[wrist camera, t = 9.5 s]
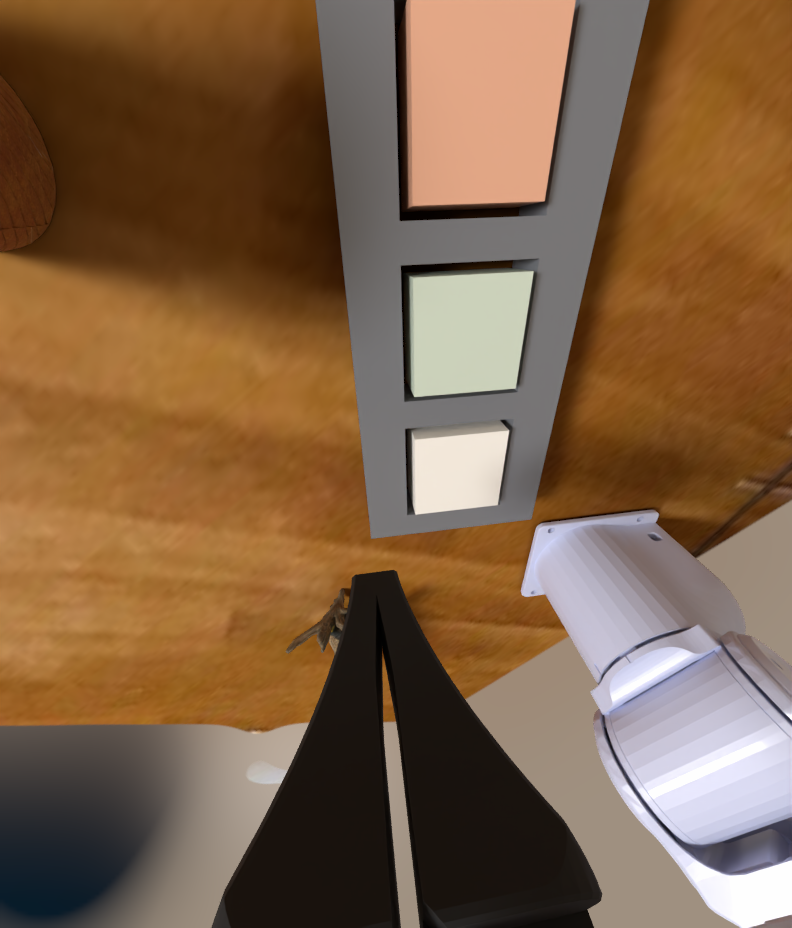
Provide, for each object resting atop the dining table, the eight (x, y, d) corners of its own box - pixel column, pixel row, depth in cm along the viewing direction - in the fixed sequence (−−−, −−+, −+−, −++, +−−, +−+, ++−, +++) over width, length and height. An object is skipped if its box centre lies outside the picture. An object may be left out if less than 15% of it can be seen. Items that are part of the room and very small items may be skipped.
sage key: (507, 267, 16) (533, 271, 14) (495, 371, 18) (515, 388, 16) (403, 273, 15) (413, 277, 13) (405, 378, 18) (414, 397, 16)
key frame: (613, -43, 12) (673, -107, 9) (514, 494, 24) (531, 519, 22) (310, -53, 11) (302, -126, 9) (368, 511, 23) (371, 538, 21)
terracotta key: (534, 36, 12) (577, -10, 10) (514, 207, 15) (544, 201, 12) (397, 35, 12) (410, -14, 9) (401, 211, 14) (412, 206, 12)
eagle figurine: (265, 617, 26) (305, 696, 29) (304, 682, 20) (347, 770, 23) (351, 561, 29) (377, 636, 33) (404, 602, 24) (428, 687, 27)
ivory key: (490, 409, 20) (509, 430, 17) (482, 479, 22) (497, 505, 20) (406, 417, 19) (414, 439, 17) (407, 487, 22) (415, 514, 20)
